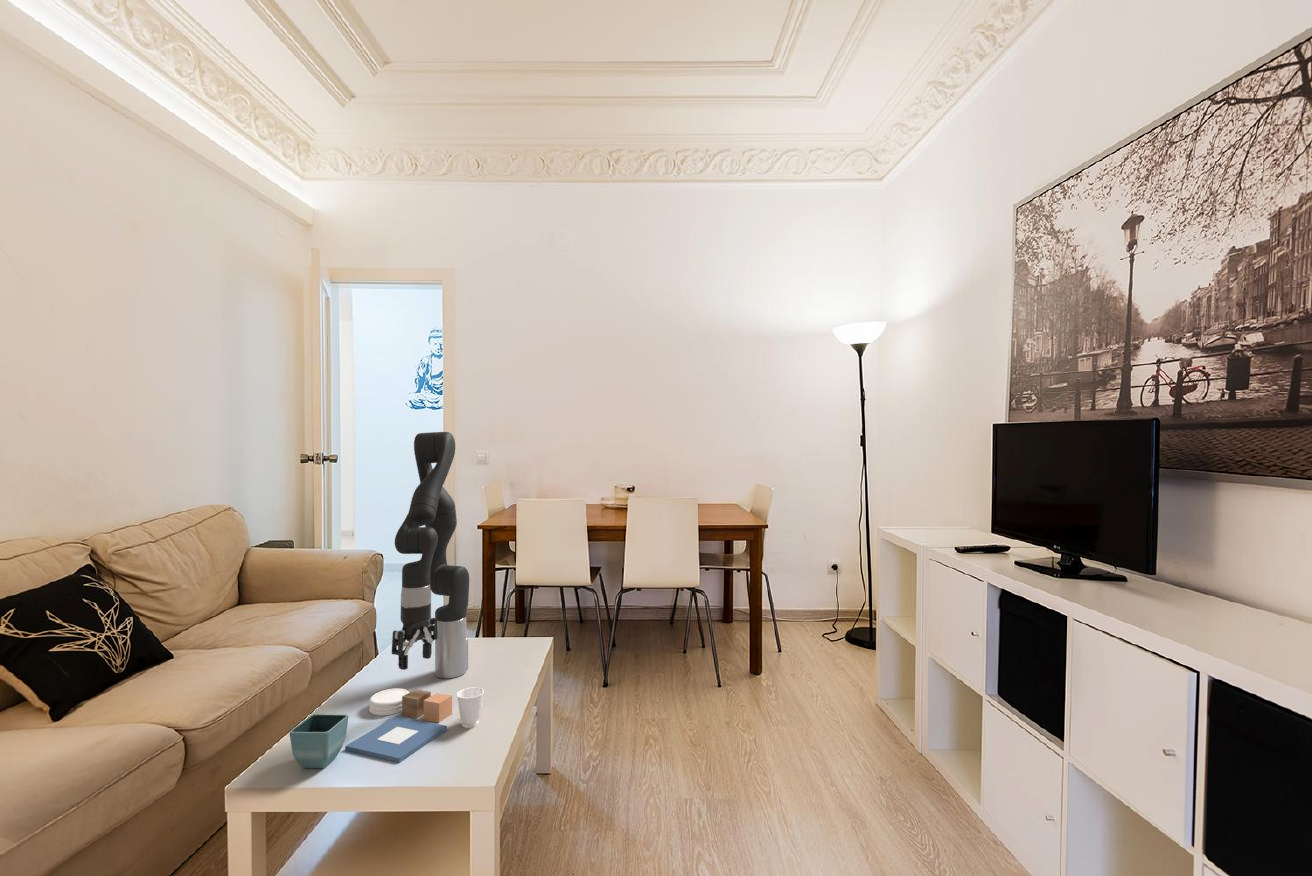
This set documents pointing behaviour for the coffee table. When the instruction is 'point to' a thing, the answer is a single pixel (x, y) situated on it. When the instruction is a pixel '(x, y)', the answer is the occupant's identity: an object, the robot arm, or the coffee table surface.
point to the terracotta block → (437, 707)
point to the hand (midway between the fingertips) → (415, 663)
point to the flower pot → (318, 739)
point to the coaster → (387, 702)
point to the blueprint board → (396, 738)
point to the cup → (470, 706)
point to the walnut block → (414, 703)
